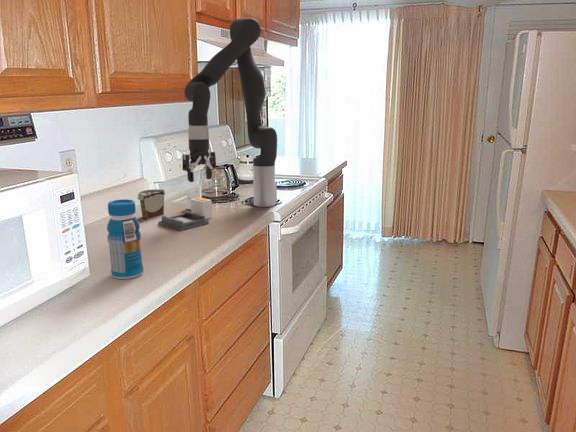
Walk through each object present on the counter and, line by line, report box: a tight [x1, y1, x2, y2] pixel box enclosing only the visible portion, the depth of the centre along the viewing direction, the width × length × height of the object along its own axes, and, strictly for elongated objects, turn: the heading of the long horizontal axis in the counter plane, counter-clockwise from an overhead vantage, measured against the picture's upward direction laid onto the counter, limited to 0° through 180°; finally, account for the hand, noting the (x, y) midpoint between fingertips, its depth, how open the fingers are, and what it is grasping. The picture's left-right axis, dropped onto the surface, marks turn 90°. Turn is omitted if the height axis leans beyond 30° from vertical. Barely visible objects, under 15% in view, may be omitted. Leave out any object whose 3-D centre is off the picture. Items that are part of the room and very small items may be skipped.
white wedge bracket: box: [186, 185, 203, 210], centre depth 202 cm, size 4×10×9 cm, turn 84°
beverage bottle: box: [106, 198, 144, 280], centre depth 128 cm, size 8×8×20 cm
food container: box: [137, 188, 166, 221], centre depth 189 cm, size 12×6×10 cm, turn 152°
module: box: [190, 197, 213, 220], centre depth 189 cm, size 4×7×7 cm, turn 49°
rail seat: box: [157, 210, 210, 232], centre depth 179 cm, size 13×13×3 cm
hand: (200, 180), depth 186 cm, fingers open, 8 cm apart
